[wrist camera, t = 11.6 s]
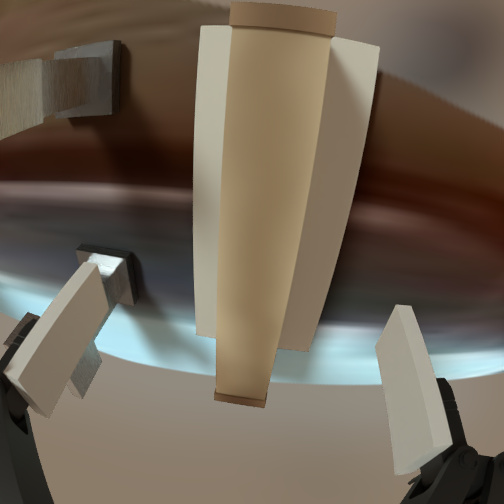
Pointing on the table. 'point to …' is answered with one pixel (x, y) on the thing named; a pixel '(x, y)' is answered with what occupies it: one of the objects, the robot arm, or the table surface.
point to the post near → (60, 86)
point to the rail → (265, 182)
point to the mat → (321, 187)
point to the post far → (116, 291)
